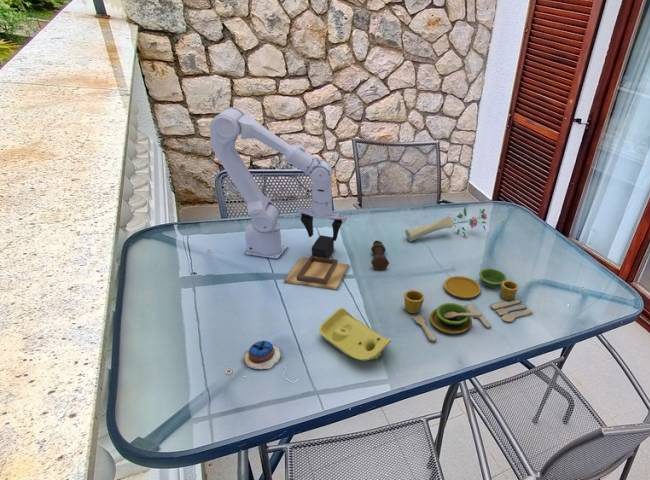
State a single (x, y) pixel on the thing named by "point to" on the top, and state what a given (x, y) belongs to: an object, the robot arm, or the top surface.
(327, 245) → the black rectangular block
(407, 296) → the tableware set
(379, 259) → the brown figurine
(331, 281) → the mount plate
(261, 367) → the dessert
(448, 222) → the flower vase
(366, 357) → the plastic component
